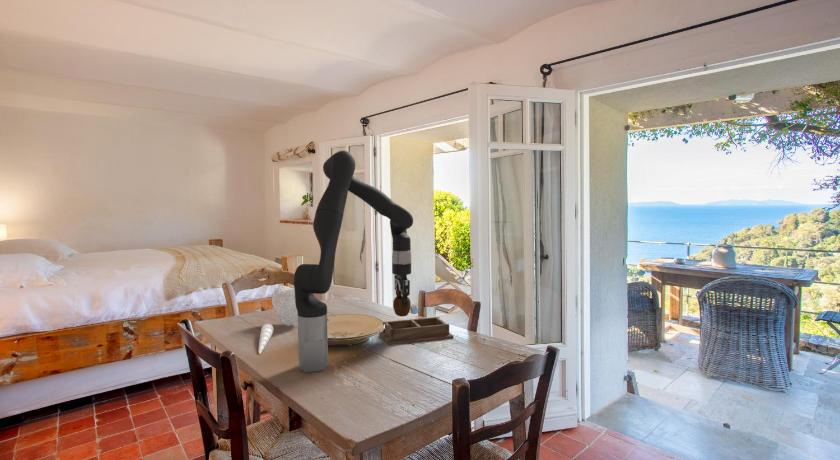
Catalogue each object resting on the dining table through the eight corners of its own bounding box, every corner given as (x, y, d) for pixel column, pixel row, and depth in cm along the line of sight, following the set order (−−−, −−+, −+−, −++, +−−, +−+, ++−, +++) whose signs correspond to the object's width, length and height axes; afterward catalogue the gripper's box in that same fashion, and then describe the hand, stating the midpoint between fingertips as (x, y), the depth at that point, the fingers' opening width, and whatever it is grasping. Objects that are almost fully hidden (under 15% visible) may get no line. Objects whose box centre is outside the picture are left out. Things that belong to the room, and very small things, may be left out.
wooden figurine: (413, 314, 163) (413, 277, 162) (404, 318, 158) (404, 279, 157) (399, 312, 166) (399, 276, 165) (390, 315, 161) (390, 278, 161)
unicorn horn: (247, 355, 143) (247, 342, 143) (261, 335, 166) (261, 323, 166) (262, 355, 144) (262, 341, 143) (274, 334, 167) (274, 323, 167)
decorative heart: (266, 325, 179) (265, 286, 178) (285, 319, 188) (285, 282, 187) (293, 332, 169) (292, 291, 168) (313, 325, 178) (312, 286, 177)
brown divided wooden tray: (453, 338, 160) (453, 325, 160) (388, 345, 152) (388, 332, 152) (439, 326, 176) (439, 315, 175) (379, 332, 168) (379, 320, 167)
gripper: (388, 260, 166) (388, 300, 167) (397, 264, 153) (397, 308, 154) (405, 259, 169) (405, 299, 170) (416, 263, 155) (416, 307, 156)
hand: (401, 303), depth 162 cm, fingers closed on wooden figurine, 7 cm apart
